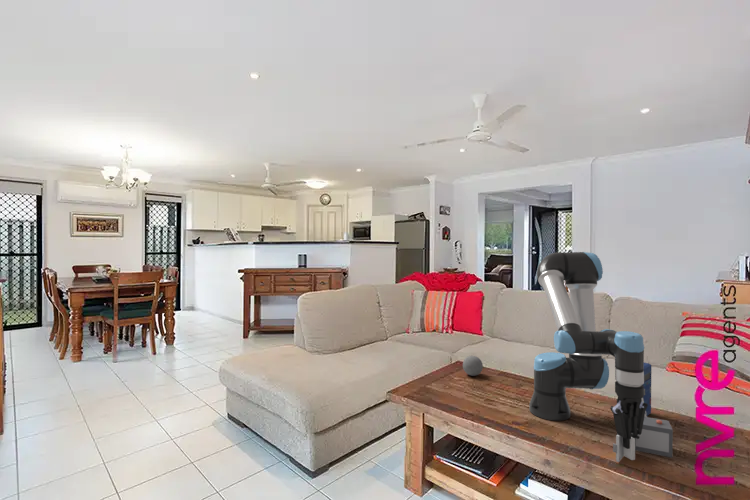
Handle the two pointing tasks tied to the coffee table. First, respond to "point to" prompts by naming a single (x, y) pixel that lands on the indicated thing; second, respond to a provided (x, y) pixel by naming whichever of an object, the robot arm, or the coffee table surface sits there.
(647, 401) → the electronic device
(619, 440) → the door
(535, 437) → the coffee table surface
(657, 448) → the camera body
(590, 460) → the coffee table surface
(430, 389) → the coffee table surface
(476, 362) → the decorative ball
